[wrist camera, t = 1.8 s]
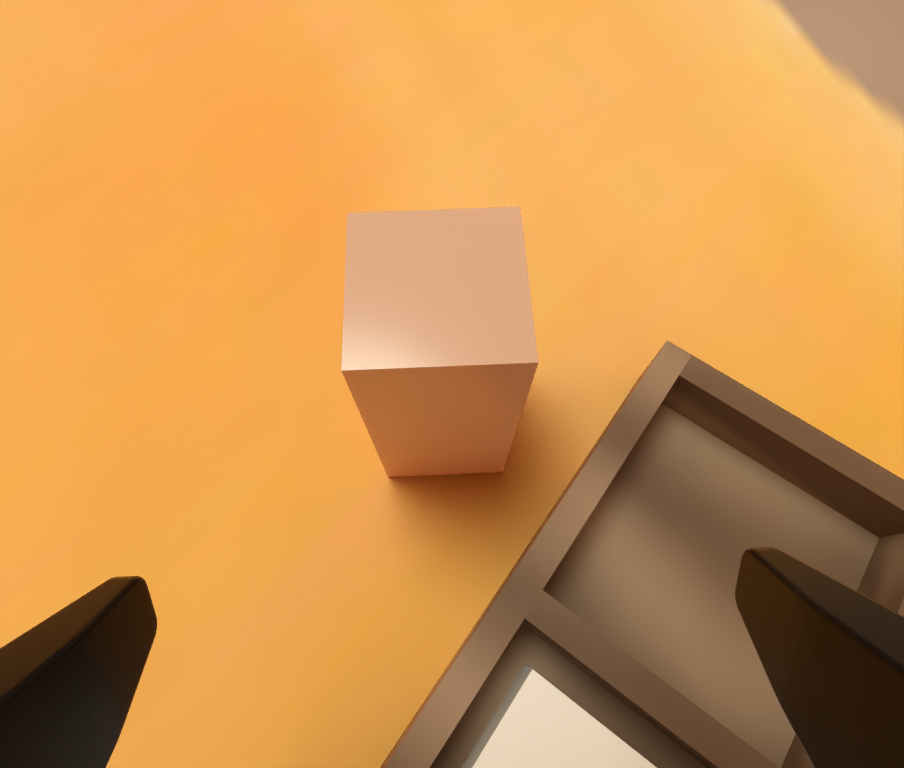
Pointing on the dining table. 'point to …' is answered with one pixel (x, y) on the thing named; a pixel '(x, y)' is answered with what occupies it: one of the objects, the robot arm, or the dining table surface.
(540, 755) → the napkin stack
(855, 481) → the rack
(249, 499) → the dining table surface
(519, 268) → the clay blank
